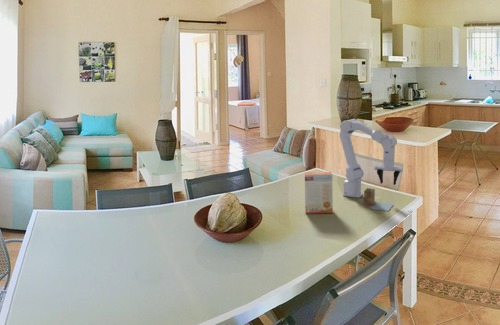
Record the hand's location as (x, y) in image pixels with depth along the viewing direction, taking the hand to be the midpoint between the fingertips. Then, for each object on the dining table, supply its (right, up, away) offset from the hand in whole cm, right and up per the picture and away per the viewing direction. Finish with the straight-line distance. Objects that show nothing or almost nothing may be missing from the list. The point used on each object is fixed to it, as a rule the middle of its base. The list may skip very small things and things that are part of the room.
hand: (388, 183), depth 235 cm
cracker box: (-39, -14, -9) cm, 42 cm away
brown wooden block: (-11, -11, -1) cm, 16 cm away
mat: (-5, -12, -5) cm, 14 cm away
